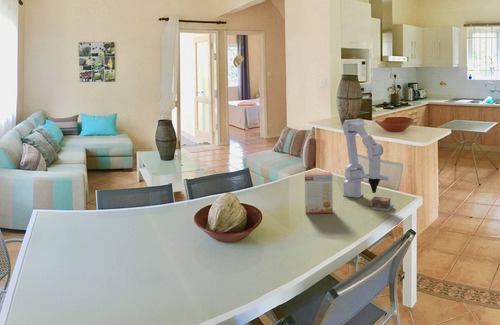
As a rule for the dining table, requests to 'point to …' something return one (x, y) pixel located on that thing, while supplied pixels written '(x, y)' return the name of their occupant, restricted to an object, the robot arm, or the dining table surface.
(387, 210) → the mat
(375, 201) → the brown wooden block
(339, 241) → the dining table surface
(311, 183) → the cracker box
